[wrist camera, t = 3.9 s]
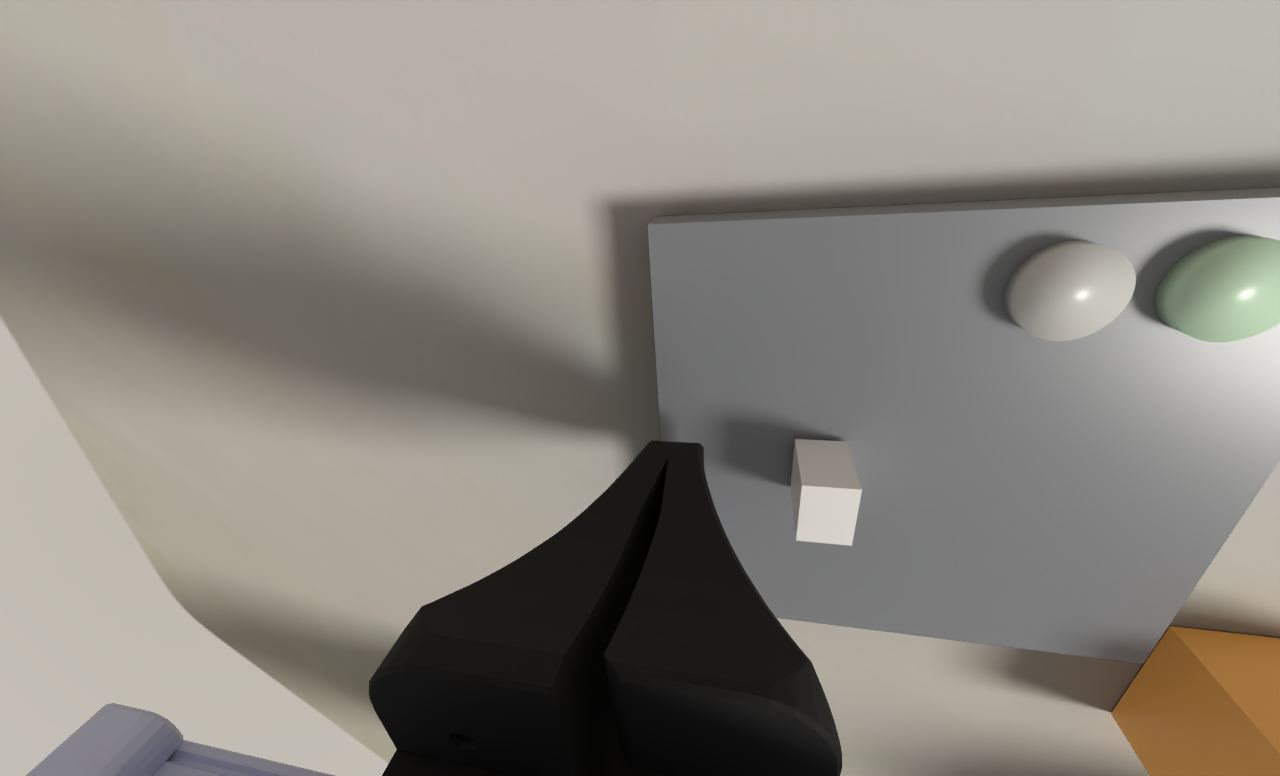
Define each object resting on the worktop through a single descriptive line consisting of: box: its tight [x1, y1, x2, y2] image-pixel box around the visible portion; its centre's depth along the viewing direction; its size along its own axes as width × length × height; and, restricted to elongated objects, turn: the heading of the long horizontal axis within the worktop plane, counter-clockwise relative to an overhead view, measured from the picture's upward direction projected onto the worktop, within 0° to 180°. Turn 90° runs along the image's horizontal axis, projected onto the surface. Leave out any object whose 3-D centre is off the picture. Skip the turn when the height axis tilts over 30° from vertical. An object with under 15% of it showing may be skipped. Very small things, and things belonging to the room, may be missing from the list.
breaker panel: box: [648, 187, 1280, 664], centre depth 12 cm, size 13×12×2 cm
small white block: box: [790, 439, 862, 546], centre depth 11 cm, size 1×2×2 cm
